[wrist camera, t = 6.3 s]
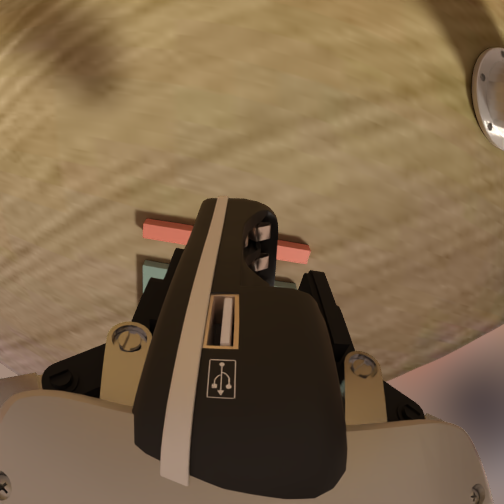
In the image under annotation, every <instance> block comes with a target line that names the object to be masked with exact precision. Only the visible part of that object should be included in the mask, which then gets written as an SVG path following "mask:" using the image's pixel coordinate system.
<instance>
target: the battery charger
mask: <svg viewBox="0 0 504 504" xmlns="http://www.w3.org/2000/svg"><path fill="white" fill-rule="evenodd" d="M277 245H278V222H277V218H276V215H275V214H274V212H273V211H272V210H271V209H270V208H269V207H268V206H266V205H264V204H262V203H260V202H257V201H252V200H248V199H236V198H228V196H218V198H210V199H206V200H204V201H203V203H202V204H201V207H200V210H199V213H198V216H197V218H196V221H195V224H194V226H193V229H192V232H191V234H190V237H189V240H188V242H187V244H186V247H185V249H184V251H183V254H182V256H181V258H180V261H179V263H178V266H177V268H176V271H175V274H174V276H173V279H172V281H171V284H170V287H169V289H168V292H167V295H166V297H165V300H164V303H163V306H162V309H161V312H160V315H159V318H158V320H157V323H156V327H155V330H154V333H153V336H152V339H151V343H150V346H149V349H148V352H147V356H146V359H145V363H144V366H143V370H142V373H141V377H140V381H139V384H138V388H137V392H136V396H135V400H134V404H133V408H132V413H133V414H134V443H135V445H136V446H137V447H138V448H139V449H141V450H142V451H143V452H144V453H145V454H147V455H149V456H151V457H153V458H155V459H157V460H159V461H160V475H161V476H162V477H165V478H167V479H170V480H172V481H175V482H177V483H179V484H182V485H184V486H189V475H190V476H193V477H195V478H197V479H200V480H202V481H204V482H207V483H209V484H212V485H214V486H217V487H220V488H222V489H226V490H231V491H236V492H241V493H246V494H252V495H258V496H265V497H272V498H280V499H313V498H317V497H319V496H320V495H322V494H324V493H326V492H328V491H330V490H332V489H333V488H334V487H335V486H336V484H337V483H338V482H339V480H340V479H341V477H342V476H343V474H344V473H345V471H346V463H347V449H348V447H347V435H346V430H347V429H346V421H345V414H344V408H343V401H342V395H341V389H340V384H339V378H338V373H337V368H336V363H335V358H334V354H333V349H332V345H331V341H330V337H329V333H328V329H327V326H326V322H325V320H324V318H323V316H322V314H321V312H320V310H319V307H318V304H317V302H316V301H315V300H314V299H313V297H312V296H311V295H310V294H308V293H305V292H303V291H300V290H297V289H294V288H284V287H274V282H275V270H276V258H277Z"/></svg>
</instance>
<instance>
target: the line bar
mask: <svg viewBox="0 0 504 504" xmlns="http://www.w3.org/2000/svg"><path fill="white" fill-rule="evenodd" d="M192 229H193V226H192V225H186V224H180V223H173V222H167V221H161V220H154V219H148V218H147V219H146V220H145V222H144V223H143V238H147V239H153V240H159V241H166V242H172V243H178V244H184V245H186V244H187V242H188V240H189V237H190V234H191V232H192ZM310 252H311V250H310V248H309V245H305V244H299V243H294V242H288V241H282V240H278V245H277V258H276V259H277V260H283V261H290V262H296V263H302V264H307V261H308V258H309V255H310Z"/></svg>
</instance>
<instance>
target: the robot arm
mask: <svg viewBox="0 0 504 504" xmlns="http://www.w3.org/2000/svg"><path fill="white" fill-rule="evenodd" d="M472 98H473V105H474V110H475V113H476V117H477V120H478V122H479V125H480V127H481V129H482V131H483V133H484V135H485V136H486V137H487V139H488V140H489V141H490V142H491V143H492V144H493V145H494V146H495V147H497V148H499V149H501V150H504V48H500V47H496V48H489V49H486V50H485V51H484V52H483V53H481V55H480V56H479V58H478V59H477V62H476V64H475V66H474V71H473V76H472ZM183 251H184V249H179V248H176V249H175V251H174V254H173V256H172V259H171V262H170V264H169V267H168V269H167V272H166V274H165V277H164V279H158V278H153V277H151V278H150V279H149V281H148V283H147V286H146V288H145V290H144V293H143V295H142V297H141V300H140V302H139V304H138V307H137V309H136V312H135V314H134V316H133V319H132V321H131V322H122V323H119V324H117V325H115V326H114V327H112V328H111V330H110V331H109V332H108V335H107V340H106V343H105V344H103V345H100V346H98V347H95V348H93V349H90V350H88V351H85V352H83V353H80V354H77V355H75V356H72V357H70V358H67V359H65V360H62V361H59V362H57V363H54V364H53V365H51V366H49V367H48V368H47V369H46V370H45V371H44V373H43V374H41V375H37V374H36V372H35V373H29V374H24V375H19V376H14V377H8V378H3V379H0V504H494V503H493V499H492V495H491V491H490V487H489V484H488V481H487V477H486V474H485V471H484V468H483V465H482V462H481V460H480V457H479V455H478V452H477V450H476V448H475V446H474V444H473V442H472V440H471V438H470V437H469V435H468V434H467V433H466V431H465V430H464V429H462V428H461V427H459V426H457V425H455V424H452V423H448V422H445V421H443V420H441V419H438V418H436V417H434V416H432V415H429V414H426V415H425V416H424V413H423V410H422V409H421V408H420V406H419V405H418V404H416V403H415V402H414V401H412V400H411V399H409V398H408V397H407V396H405V395H404V394H402V393H401V392H399V391H398V390H396V389H395V388H393V387H392V386H390V385H389V384H388V383H386V382H385V381H383V379H382V372H381V367H380V364H379V363H378V361H377V360H376V359H375V358H374V357H373V356H371V355H370V354H368V353H365V352H362V351H355V349H354V346H353V344H352V341H351V338H350V335H349V332H348V329H347V326H346V323H345V321H344V318H343V315H342V312H341V310H340V308H339V306H336V303H335V300H334V297H333V295H332V292H331V289H330V287H329V284H328V281H327V278H326V276H325V273H324V272H318V271H312V270H310V271H309V273H305V274H304V275H303V278H302V281H301V284H300V286H299V289H298V290H300V291H303V292H305V293H308V294H310V295H311V296H312V297H313V299H314V300H315V301H316V302H317V304H318V307H319V310H320V312H321V314H322V316H323V318H324V320H325V322H326V326H327V329H328V333H329V337H330V341H331V345H332V349H333V354H334V358H335V363H336V368H337V373H338V378H339V384H340V389H341V395H342V401H343V408H344V414H345V421H346V429H347V430H346V435H347V447H348V449H347V463H346V471H345V473H344V474H343V476H342V477H341V479H340V480H339V482H338V483H337V484H336V486H335V487H334V488H333V489H332V490H330V491H328V492H326V493H324V494H322V495H320V496H319V497H317V498H313V499H280V498H272V497H265V496H258V495H252V494H246V493H241V492H236V491H231V490H226V489H222V488H220V487H217V486H214V485H212V484H209V483H207V482H204V481H202V480H200V479H197V478H195V477H193V476H190V475H189V486H184V485H182V484H179V483H177V482H175V481H172V480H170V479H167V478H165V477H162V476H161V475H160V461H159V460H157V459H155V458H153V457H151V456H149V455H147V454H145V453H144V452H143V451H142V450H141V449H139V448H138V447H137V446H136V445H135V443H134V414H133V413H132V408H133V404H134V400H135V396H136V392H137V388H138V384H139V381H140V377H141V373H142V370H143V366H144V363H145V359H146V356H147V352H148V349H149V346H150V343H151V339H152V336H153V333H154V330H155V327H156V323H157V320H158V318H159V315H160V312H161V309H162V306H163V303H164V300H165V297H166V295H167V292H168V289H169V287H170V284H171V281H172V279H173V276H174V274H175V271H176V268H177V266H178V263H179V261H180V258H181V256H182V254H183Z"/></svg>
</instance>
